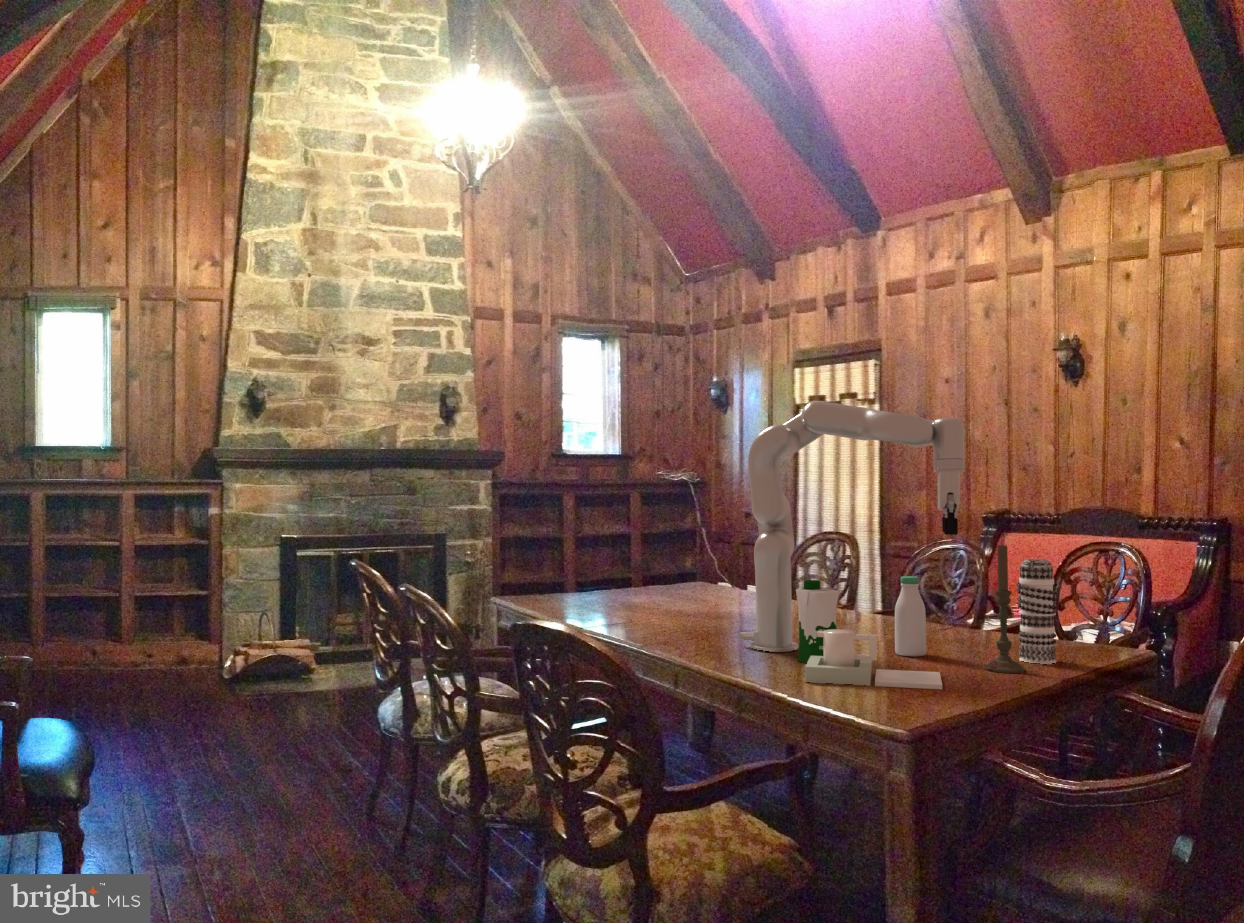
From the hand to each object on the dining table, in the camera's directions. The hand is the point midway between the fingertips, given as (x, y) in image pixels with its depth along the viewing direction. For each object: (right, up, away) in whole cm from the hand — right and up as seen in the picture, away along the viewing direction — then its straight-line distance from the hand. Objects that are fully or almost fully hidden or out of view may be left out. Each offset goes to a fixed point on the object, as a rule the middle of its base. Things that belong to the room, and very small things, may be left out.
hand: (949, 533), depth 244 cm
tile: (-20, -31, -30) cm, 47 cm away
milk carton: (-35, -32, -8) cm, 48 cm away
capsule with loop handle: (-33, -31, -27) cm, 52 cm away
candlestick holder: (+7, -31, -18) cm, 36 cm away
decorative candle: (+19, -31, -8) cm, 37 cm away
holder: (-34, -31, -26) cm, 53 cm away
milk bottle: (-9, -32, +2) cm, 33 cm away
